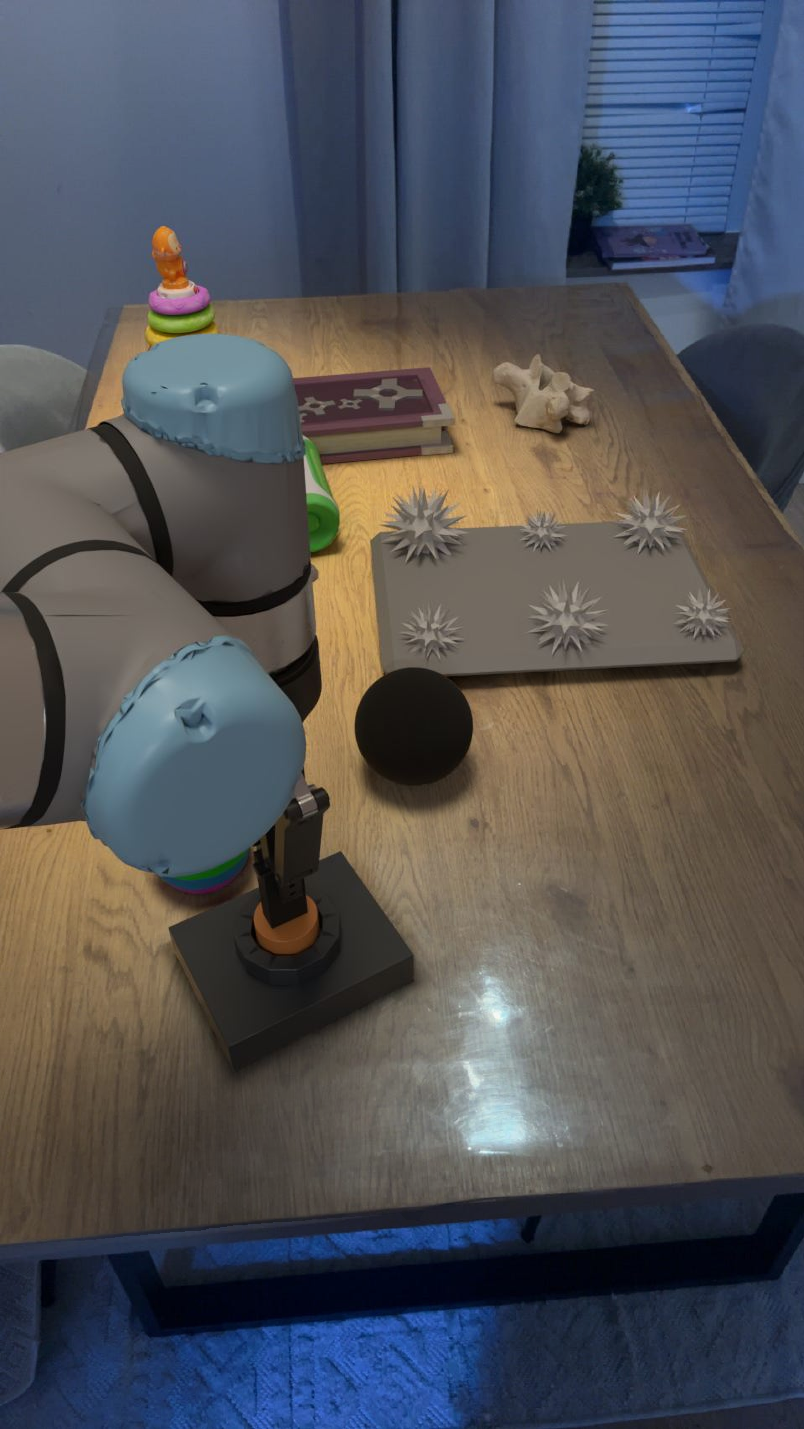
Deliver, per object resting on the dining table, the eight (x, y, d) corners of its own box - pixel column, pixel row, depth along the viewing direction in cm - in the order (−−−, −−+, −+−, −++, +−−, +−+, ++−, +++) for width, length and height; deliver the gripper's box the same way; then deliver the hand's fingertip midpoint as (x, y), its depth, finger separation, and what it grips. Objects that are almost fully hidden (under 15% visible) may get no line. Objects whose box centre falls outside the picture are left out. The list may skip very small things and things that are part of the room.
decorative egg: (245, 818, 84) (230, 730, 78) (266, 892, 79) (252, 804, 72) (146, 842, 83) (122, 754, 76) (160, 920, 77) (136, 832, 70)
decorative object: (555, 451, 134) (557, 398, 128) (475, 414, 141) (473, 363, 135) (595, 419, 138) (599, 366, 132) (515, 385, 145) (515, 333, 138)
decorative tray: (383, 693, 96) (380, 608, 90) (369, 546, 115) (366, 467, 109) (744, 673, 98) (768, 588, 91) (671, 532, 117) (687, 453, 110)
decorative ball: (339, 794, 86) (333, 707, 80) (379, 720, 93) (376, 633, 87) (451, 822, 84) (454, 734, 77) (484, 743, 91) (489, 656, 84)
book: (258, 472, 129) (254, 435, 125) (251, 416, 140) (247, 381, 137) (454, 454, 132) (455, 418, 128) (430, 400, 143) (430, 366, 140)
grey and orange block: (234, 1072, 68) (224, 1032, 64) (174, 953, 75) (163, 911, 71) (414, 980, 73) (414, 938, 69) (342, 876, 80) (339, 834, 76)
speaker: (344, 553, 114) (341, 494, 109) (280, 561, 113) (274, 502, 108) (319, 478, 127) (315, 422, 122) (261, 485, 126) (255, 429, 121)
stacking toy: (226, 423, 139) (202, 244, 123) (135, 419, 140) (100, 241, 124) (247, 381, 149) (227, 211, 133) (162, 378, 150) (133, 209, 134)
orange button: (272, 969, 69) (269, 951, 67) (246, 923, 72) (243, 905, 70) (330, 941, 70) (328, 924, 69) (302, 898, 73) (300, 880, 72)
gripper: (368, 685, 51) (379, 958, 67) (261, 561, 59) (293, 830, 75) (230, 737, 48) (276, 1010, 64) (138, 600, 56) (198, 871, 72)
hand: (285, 912), depth 69 cm, fingers closed
